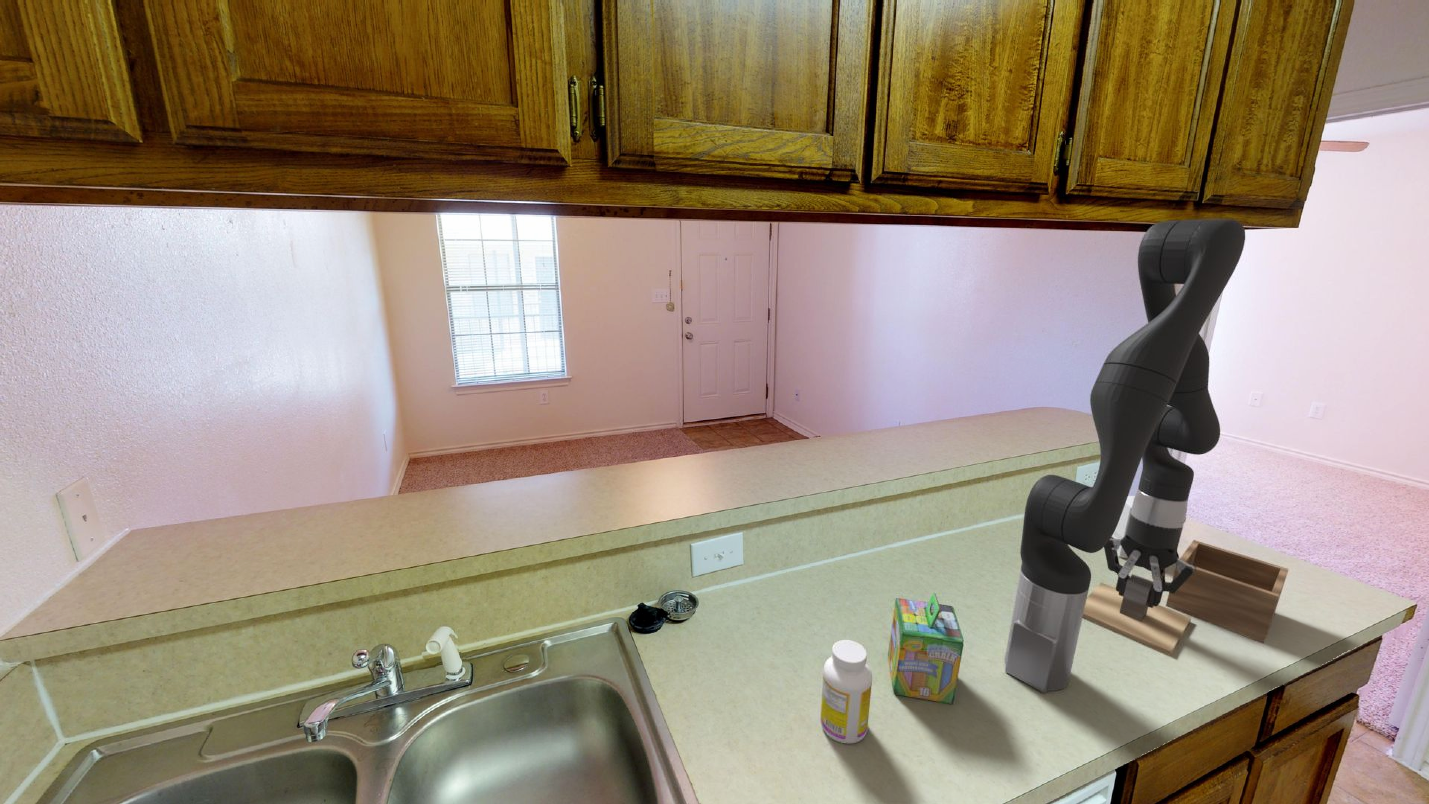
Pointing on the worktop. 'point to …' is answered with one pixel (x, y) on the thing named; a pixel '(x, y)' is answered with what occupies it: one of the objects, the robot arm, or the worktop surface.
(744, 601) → the worktop surface
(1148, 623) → the lid
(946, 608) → the chalk box
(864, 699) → the supplement bottle
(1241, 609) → the box
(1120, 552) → the supplement box
